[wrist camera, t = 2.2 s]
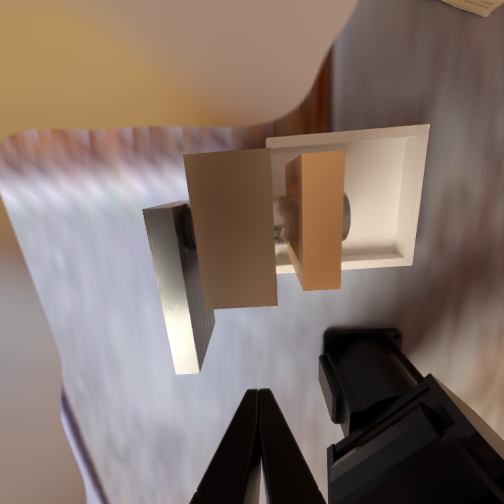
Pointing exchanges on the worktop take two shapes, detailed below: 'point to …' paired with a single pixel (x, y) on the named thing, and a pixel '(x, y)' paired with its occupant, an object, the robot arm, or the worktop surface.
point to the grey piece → (188, 272)
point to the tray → (366, 190)
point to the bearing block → (233, 226)
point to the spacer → (317, 217)
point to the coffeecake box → (476, 5)
